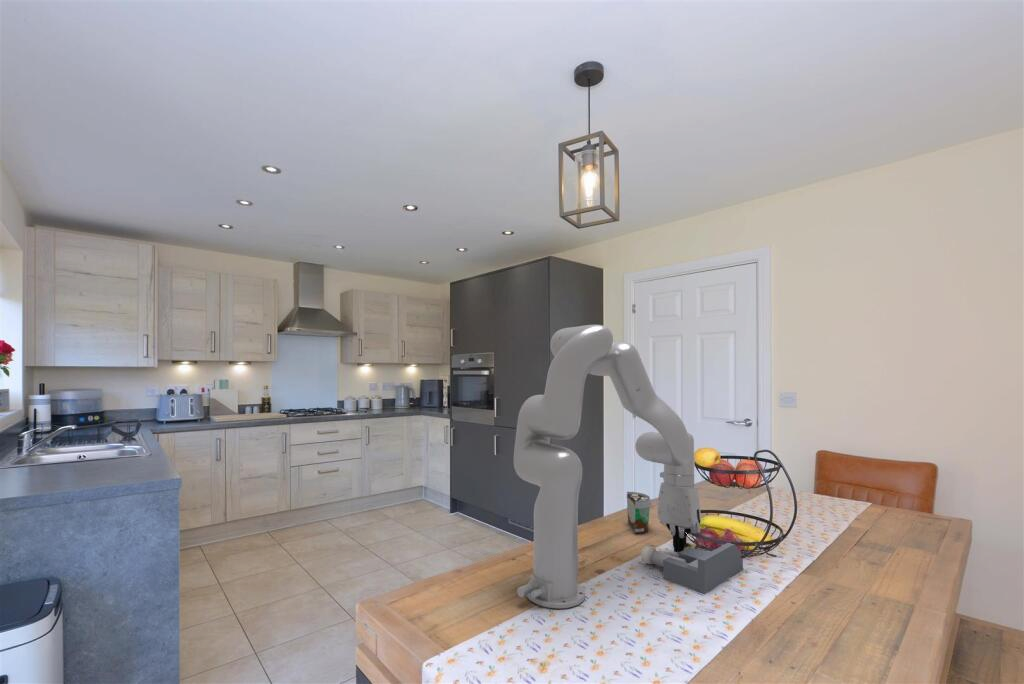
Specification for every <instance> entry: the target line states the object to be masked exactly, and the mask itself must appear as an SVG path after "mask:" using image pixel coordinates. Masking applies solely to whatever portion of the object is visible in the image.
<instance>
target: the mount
mask: <svg viewBox="0 0 1024 684" xmlns="http://www.w3.org/2000/svg"><path fill="white" fill-rule="evenodd" d="M734 539H736V540H738V541H742V542H743V539H740V538H738V537H736V538H734ZM698 548H699V547H698ZM701 549H702V548H701ZM705 550H708V551H711V552H709V553H708V552H705V551H701V550H698V549H694V548H691V547H689V548H687V549H685V550H683V551H681V552H679V553H678V558H681V559H685V560H686V562H682V561H679V560H676V559H673V558H670V557H669V558H667V559H665V560H663V566H662V572H663V573H662V579H663V580H666V581H668V582H670V583H673V584H677V585H678V586H682V587H685V588H687V589H690V590H694V591H696V592H699V593H701V594H707V593H708V592H711V591H712V590H713V589H715V588H716V587H718V586H719V585H721V584H722V583H723V582H725V581H727V580H729V579H730V578H732V577H733V576H734V575H736V574H737V572H738V573H739V572H740V570H741V571H742V570H744V561H743V559H744V557H743V558H740V556H741V552H740V551H739V549H738V548H737V546H736V545H735V544H731V543H728V542H726V543H725V544H723V545H722V544H721V547H719V548H717V549H712V548H706V549H705ZM729 577H730V578H729Z"/></svg>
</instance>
